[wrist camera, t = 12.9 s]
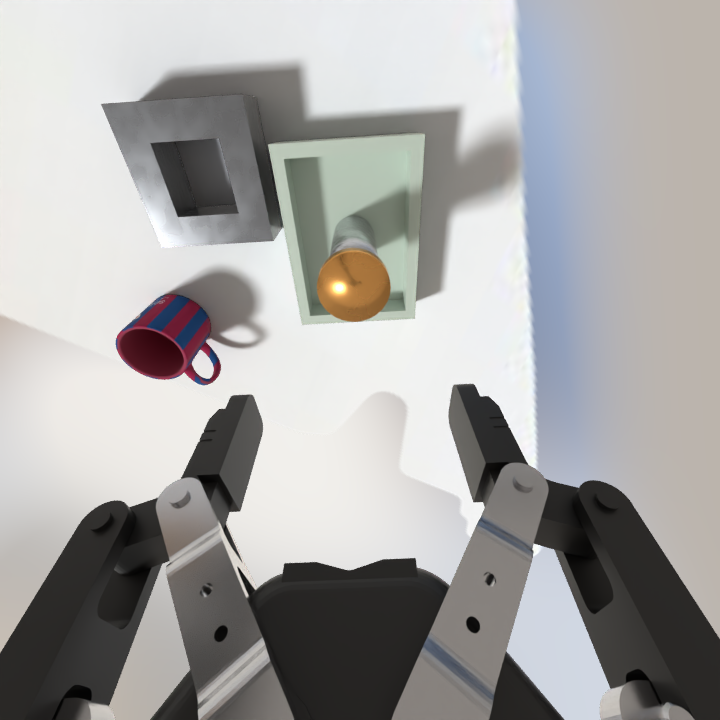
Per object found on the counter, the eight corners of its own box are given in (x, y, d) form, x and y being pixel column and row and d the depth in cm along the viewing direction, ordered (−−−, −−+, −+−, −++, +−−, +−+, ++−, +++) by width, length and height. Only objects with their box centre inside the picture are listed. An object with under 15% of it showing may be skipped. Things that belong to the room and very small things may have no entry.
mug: (177, 283, 35) (144, 313, 29) (243, 347, 40) (225, 383, 34) (138, 312, 37) (100, 345, 31) (205, 369, 42) (183, 406, 37)
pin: (325, 211, 30) (311, 255, 20) (379, 207, 30) (390, 250, 20) (331, 263, 33) (321, 323, 23) (379, 260, 33) (390, 319, 23)
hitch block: (132, 105, 26) (101, 104, 22) (256, 97, 25) (242, 94, 22) (181, 234, 32) (162, 247, 28) (281, 228, 31) (273, 240, 28)
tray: (276, 141, 27) (268, 144, 24) (418, 132, 27) (425, 133, 24) (306, 309, 37) (302, 324, 34) (410, 303, 37) (414, 318, 34)
